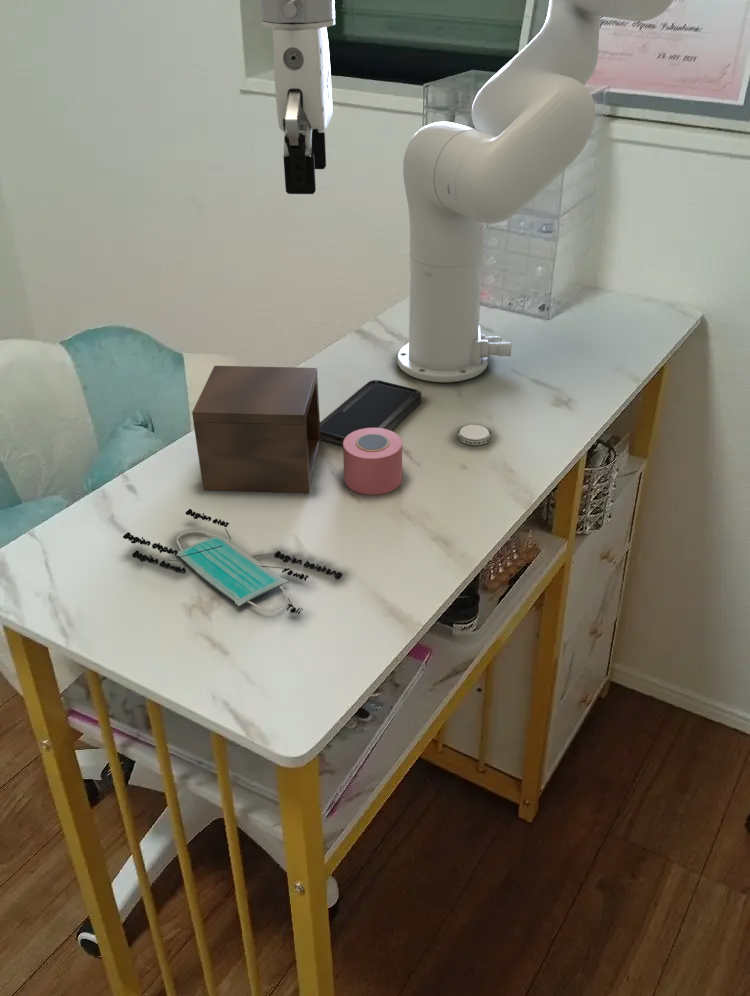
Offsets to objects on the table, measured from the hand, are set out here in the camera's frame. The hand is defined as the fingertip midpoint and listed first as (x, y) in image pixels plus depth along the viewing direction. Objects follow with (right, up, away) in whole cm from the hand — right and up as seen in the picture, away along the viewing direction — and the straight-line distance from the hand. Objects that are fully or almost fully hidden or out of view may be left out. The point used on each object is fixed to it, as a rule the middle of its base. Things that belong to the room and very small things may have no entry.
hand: (306, 180), depth 102 cm
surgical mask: (-7, -43, -12) cm, 45 cm away
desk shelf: (-5, -32, +4) cm, 33 cm away
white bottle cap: (+20, -28, +8) cm, 36 cm away
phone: (+7, -26, +13) cm, 29 cm away
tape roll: (+7, -34, +1) cm, 34 cm away
